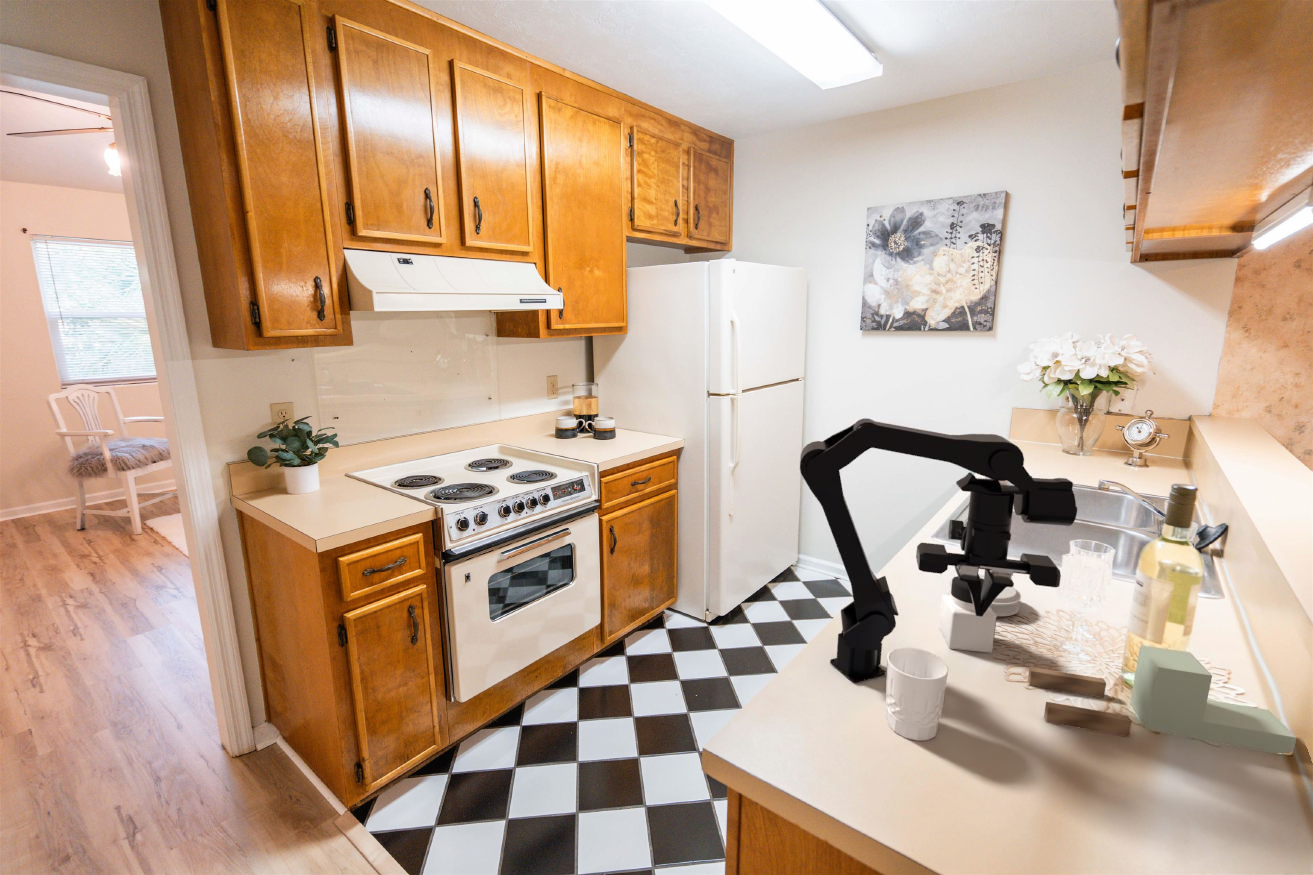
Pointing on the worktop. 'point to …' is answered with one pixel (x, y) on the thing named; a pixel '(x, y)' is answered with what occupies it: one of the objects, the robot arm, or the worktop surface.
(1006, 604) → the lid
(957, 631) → the medicine bottle
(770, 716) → the worktop surface
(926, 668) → the white cup
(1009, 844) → the worktop surface
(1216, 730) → the key block
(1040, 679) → the walnut slot
